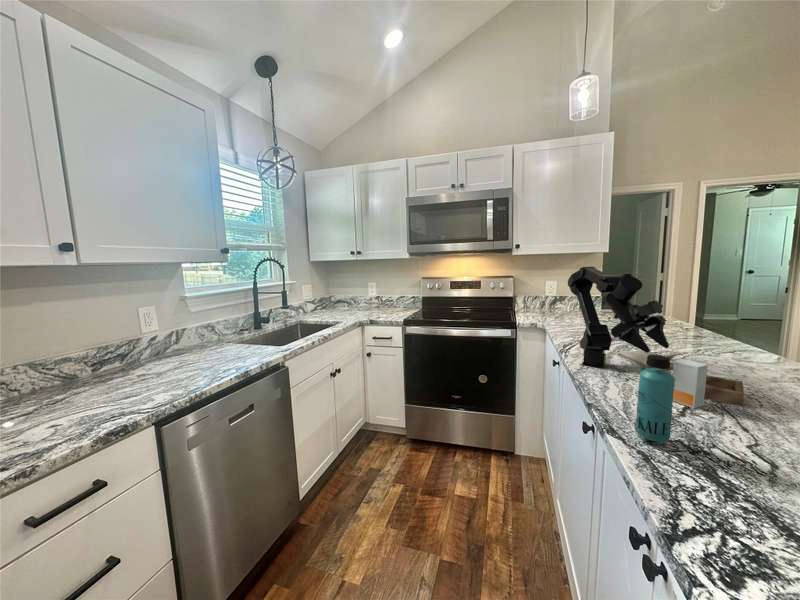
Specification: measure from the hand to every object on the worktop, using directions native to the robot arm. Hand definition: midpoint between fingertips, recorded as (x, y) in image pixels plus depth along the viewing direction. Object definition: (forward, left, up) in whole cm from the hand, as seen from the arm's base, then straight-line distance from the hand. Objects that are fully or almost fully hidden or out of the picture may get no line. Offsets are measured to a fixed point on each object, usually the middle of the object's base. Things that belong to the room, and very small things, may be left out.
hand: (658, 349), depth 96 cm
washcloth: (-7, +32, -14) cm, 36 cm away
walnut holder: (+12, +10, -13) cm, 21 cm away
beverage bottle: (+3, -31, -14) cm, 35 cm away
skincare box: (+7, -3, -14) cm, 16 cm away
